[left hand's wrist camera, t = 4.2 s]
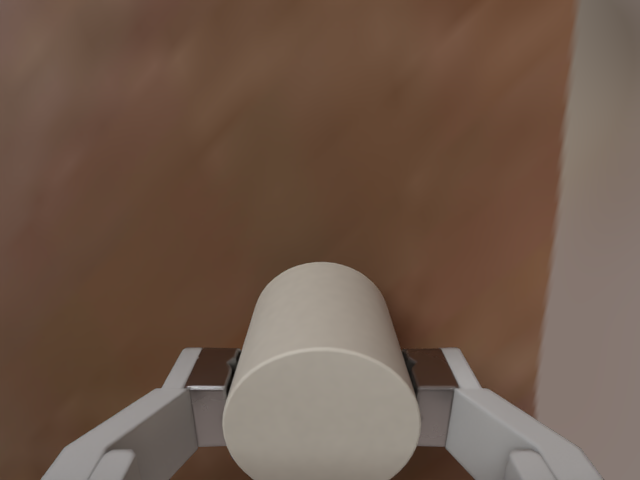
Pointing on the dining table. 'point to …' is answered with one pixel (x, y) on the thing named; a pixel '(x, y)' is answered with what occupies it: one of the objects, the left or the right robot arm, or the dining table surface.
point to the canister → (321, 382)
